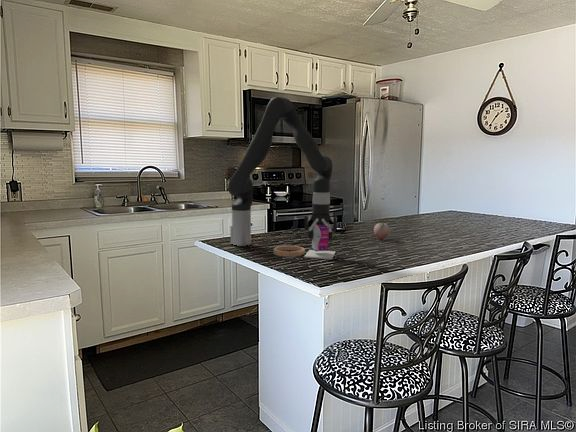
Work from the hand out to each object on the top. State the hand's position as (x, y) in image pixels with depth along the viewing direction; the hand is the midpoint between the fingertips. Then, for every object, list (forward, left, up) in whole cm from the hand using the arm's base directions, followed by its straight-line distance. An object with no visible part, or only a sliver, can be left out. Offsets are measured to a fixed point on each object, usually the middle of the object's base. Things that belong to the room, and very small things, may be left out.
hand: (320, 239), depth 180 cm
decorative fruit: (+26, +44, -7) cm, 52 cm away
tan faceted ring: (-14, 0, -7) cm, 16 cm away
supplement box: (0, 0, -5) cm, 5 cm away
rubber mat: (0, 0, -7) cm, 7 cm away
